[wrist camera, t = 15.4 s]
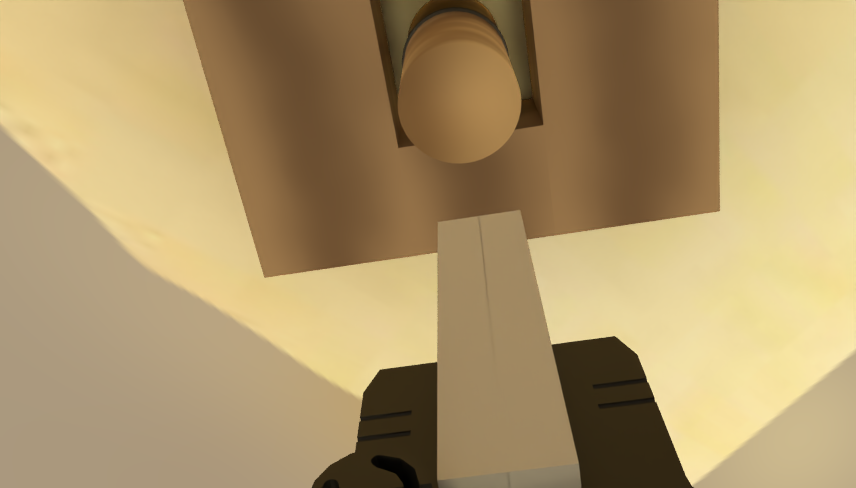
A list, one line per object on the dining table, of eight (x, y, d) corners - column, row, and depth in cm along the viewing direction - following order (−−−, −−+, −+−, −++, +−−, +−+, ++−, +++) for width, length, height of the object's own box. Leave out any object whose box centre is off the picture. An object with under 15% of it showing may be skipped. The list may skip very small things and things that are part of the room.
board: (683, -208, 30) (716, -217, 26) (692, 177, 37) (719, 211, 33) (183, -114, 32) (150, -110, 28) (280, 238, 39) (264, 277, 35)
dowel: (494, -16, 33) (516, 30, 24) (506, 80, 35) (530, 155, 26) (398, 1, 34) (384, 51, 25) (414, 95, 35) (406, 174, 26)
